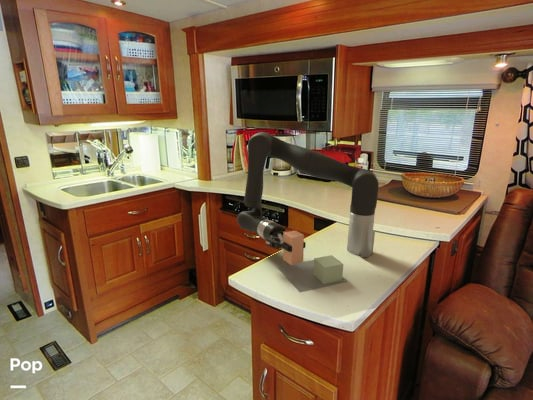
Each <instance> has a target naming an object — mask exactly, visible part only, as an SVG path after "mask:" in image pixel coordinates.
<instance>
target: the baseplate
mask: <svg viewBox="0 0 533 400" xmlns="http://www.w3.org/2000/svg"><path fill="white" fill-rule="evenodd" d="M276 268H277V269H278V270H279V271H280V273H282V275H283V276H285V278H286V279H287V280H288V281H289V282H290V284H291V285H292V286H293V287H294V288H295V289H296V290H297V291H298V292H299V293H302V292H307V291H311V290H316V289H321V288H325V287H330V286H335V285H339V284H344V283H348V282H349V280H347V279H346V278H345V277H344V276H342V280H341V281H336V282H331V283H327V284H323V283H322V282H321V281H320V280H319V279H318V278H317V277H316V276H315V275H313V268H314V259H311V260H306V261H303V262H301V263H297V264H294V265H290V264H289V263H288V264H284V265H279V266H276Z"/></svg>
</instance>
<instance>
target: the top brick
mask: <svg viewBox="0 0 533 400" xmlns="http://www.w3.org/2000/svg"><path fill="white" fill-rule="evenodd" d="M283 241H284V242H286V243H288V244H289V245H291V246H292V252H289V251H286V250H285V249H282V251H283V252H282V257H283V258H282V259H283V261H285V262H286V263H287V264H288V265H289V264H290V265H294V264H297V263H301V262H304V252H305V251H304V249H305V248H303V246H304V242H305V235H304V234H303V233H301V232H299V231H297V230H289V231H286V233H283Z"/></svg>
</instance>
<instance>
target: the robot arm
mask: <svg viewBox="0 0 533 400" xmlns="http://www.w3.org/2000/svg"><path fill="white" fill-rule="evenodd" d="M268 157H271V158H275V159H277V160H280V161H283V162H285V163H286V164H288V165H289V166H290V167H291V168H293V169H295V170H296V171H298V172H301V173H304V174H306V175H309V176H311V177H314V178H317V179H322V180H330V181H335V182H338V183H342V184H344V185H346V186H349V187H351V188H352V189H351V201H350V208H349V209H350V210H349V221H348V234H347V244H346V245H347V246H346V251H347V252H348V253H350V254H352V255H353V256H354V255H355V256H358V257H360V258H361V259H363V258H368V257H370V256H371V255H373V253H374V245H375V235H376V232H375V231H374V226H375V216H376V215H375V214H376V208H377V204H378V197H379V186H380V185H379V180H378V178H377V176H376V174H375V173H374V172H373V171H371V170H370V169H365V168H362V167H356V166H353V165H350V164H346V163H344V162H342V161H339V160H338V159H335V158H332V157H330V156H328V155H325V154H323V153H320V152H318V151H315V150H313V149H309V148H307V147H303V146H300V145H296V144H292V143H290V142H288V141H284V140H282V139H280V138H278V137H276V136H274V135H272V134H270V133H268V132H263V131H262V132H261V131H260V132H257V133H255V134H253V135H252V136H250V138H249V139H248V143H247V163H248V164H247V178H246V184H245V185H246V186H245V190H244V191H245V192H244V198H243V204H244V206H245V207H248V208H251V209H252V210H244V211H241V212H240V213H238V214H237V217H236V222H237V225H238V226H239V227H240V228H241V229H242V230H246V231H249V232H253V233H256V235H259V237H261V238H262V239H263V240H264V241H265V246H267V247H269V248H273V249H275V250H280V249H281V250H283V249H285V250H286V251H289V252H292V246H291V245H289V244H288V243H286V242H284V241H283V233H286V232H287V231H286V229H285V228H284V226H282V225H281V224H279V223H277V222H275V221H272V220H271V219H270V220H269V219H268V218H266V217H264V216H263V209H262V208H263V207H262V199H263V193H264V171H265V165H266V161H267V158H268ZM306 245H307V244H306V241H304V246H303V248H304V249H306Z"/></svg>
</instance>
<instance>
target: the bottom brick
mask: <svg viewBox="0 0 533 400" xmlns="http://www.w3.org/2000/svg"><path fill="white" fill-rule="evenodd" d="M313 260H314V268H313V275H315V276H316V277H317V278H318V279H319V280H320V281H321V282H322V283H323V284H327V283H331V282H336V281H341V280H342V277H343V273H344V263H343V262H342V261H340V259H337V258H336V257H335V256H334V255H332V254H330V255H325V256H320V257H319V256H318V257H314V258H313Z"/></svg>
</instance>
